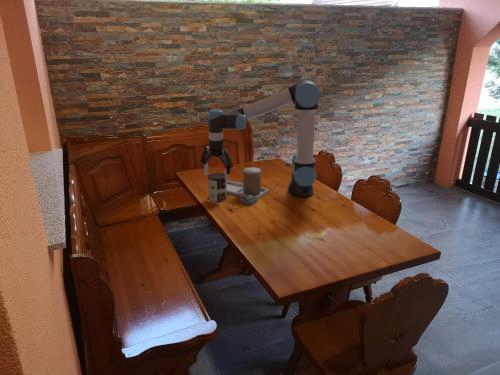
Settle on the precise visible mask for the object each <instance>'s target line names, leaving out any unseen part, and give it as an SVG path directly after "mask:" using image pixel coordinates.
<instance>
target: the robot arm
mask: <svg viewBox="0 0 500 375" xmlns="http://www.w3.org/2000/svg"><path fill="white" fill-rule="evenodd" d="M320 96H321V92H320V89H319V87H318V86H317V84H315V82H313V81H311V80H309V79H303V80H300V81H298V82H296V83H294V84H292V85H290V86H287V87H286V89H285V90H282V91H280V92H277V93H276V94H272V95H270V96H267V97H265V98H263V99H260V100H259V101H258V100H257V101H256V102H253V103H250V104H248V105H246V106H243V107H241V108H238V109H233V110H232V111H231V112H230V113H228V114H227V113H224V111H223V110H222V109H218V108H217V109H216V108H215V109H210V110H209V111H208V139H209V140H208V145H207V146H204V150H203V154H202V155H201V157H200V161H199V162H200V163H202V165H203V166H202V167H203V170H204V176H208V175H210V174H209V171H210V170H209V163H208V162H209V160H211V159H212V157H215V158H218V159H220V161H221V162H222V164H223V165H224V167H225V168H224V174H225V180H226V181H229V179H230V174H231V168H234V164H233V162H232V158H231V157H230V154H229V150H228V149H224V130H226V129H227V130H245V129H246V126H247V121H250V120H252V119H254V118H257V117H260V116H262V115H265V114H267V113H270V112H273V111H275V110H278V109H281V108H283V107H285V106H288V105H294V110H295V111H296V112H297V126H296V130H297V133H296V154H292V155H293V156H292V157H291V158H292V159H291V177H290V178H291V179H290V182H289V184H288V187H287V191H288V193H289V194H290V195H291V196H294V197H297V198H306V197H307V198H308V197H311V196H313V194H314V192H315V191H314V190H315V189H314V186H313V184H314V183H315V181H317V180H316V179H317V171H316V167H317V166H316V164H317V163H316V162H317V161H316V159H315V158H314V142H315V141H314V138H315V114H316V112H317V111H318V109H319V99H320Z"/></svg>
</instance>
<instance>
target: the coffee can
mask: <svg viewBox="0 0 500 375" xmlns="http://www.w3.org/2000/svg"><path fill="white" fill-rule="evenodd" d="M226 181H227V180H225V173H221V172H217V173H215V172H214V173H210V174H208V175H207V184H208V185H207V186H208V202H211V203H213V204H221V203H222V201H226V200H227V199H228V198H227V197H228V196H227V195H228V193H227V189H226Z"/></svg>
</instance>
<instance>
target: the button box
mask: <svg viewBox="0 0 500 375" xmlns="http://www.w3.org/2000/svg"><path fill="white" fill-rule="evenodd" d="M258 200H259V199H258V198H257V197H253V199H252V200H251V201H249V200H245V197H241V198H239V202H240V204H244V205H247V206H253V205H254V204H255V203H257V202H258Z"/></svg>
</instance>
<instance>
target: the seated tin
mask: <svg viewBox="0 0 500 375" xmlns="http://www.w3.org/2000/svg"><path fill="white" fill-rule="evenodd" d="M242 174H243V175H242V176H243V178H242V184H243V194H247V195H252V196H258V195H259V194H260V189H261V188H262V187H261V184H262V182H261V179H262V170H261V168H258V167H253V166H251V167H246V168H243V170H242Z"/></svg>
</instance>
